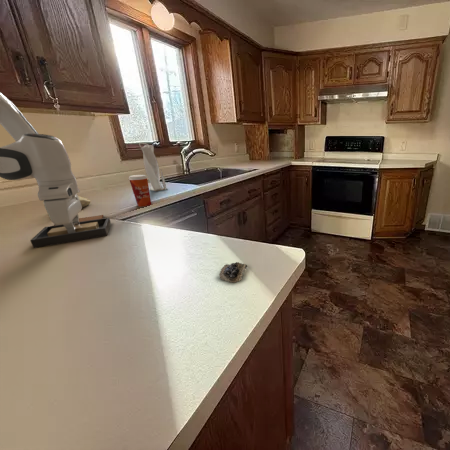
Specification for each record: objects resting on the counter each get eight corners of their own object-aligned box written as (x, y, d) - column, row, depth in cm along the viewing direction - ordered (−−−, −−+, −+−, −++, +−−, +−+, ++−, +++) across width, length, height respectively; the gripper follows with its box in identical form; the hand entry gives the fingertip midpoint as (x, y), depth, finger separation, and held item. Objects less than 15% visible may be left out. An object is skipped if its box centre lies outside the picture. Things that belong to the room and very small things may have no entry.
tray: (33, 248, 72) (30, 240, 71) (47, 234, 83) (45, 226, 82) (107, 235, 81) (104, 228, 80) (111, 224, 92) (109, 217, 91)
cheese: (74, 209, 120) (39, 195, 106) (84, 196, 122) (51, 182, 108) (94, 221, 116) (60, 209, 102) (104, 209, 118) (72, 195, 104)
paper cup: (140, 208, 112) (132, 177, 108) (132, 205, 116) (124, 176, 111) (157, 204, 119) (150, 175, 114) (148, 202, 122) (142, 174, 118)
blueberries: (246, 263, 61) (245, 256, 61) (251, 279, 54) (251, 272, 53) (218, 268, 59) (217, 261, 58) (220, 285, 52) (219, 278, 51)
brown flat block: (50, 230, 86) (50, 228, 86) (58, 222, 95) (57, 221, 94) (100, 222, 93) (99, 221, 93) (103, 216, 101) (102, 214, 101)
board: (49, 239, 77) (46, 233, 76) (53, 234, 81) (51, 228, 80) (97, 231, 83) (95, 225, 82) (99, 227, 87) (97, 221, 86)
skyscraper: (153, 192, 146) (142, 142, 136) (146, 190, 150) (135, 142, 141) (167, 189, 153) (157, 142, 143) (160, 188, 157) (150, 142, 147)
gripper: (56, 184, 83) (69, 223, 88) (35, 196, 67) (53, 242, 72) (79, 182, 86) (91, 219, 91) (65, 193, 70) (80, 237, 75)
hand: (74, 229), depth 81 cm, fingers closed on board, 5 cm apart
